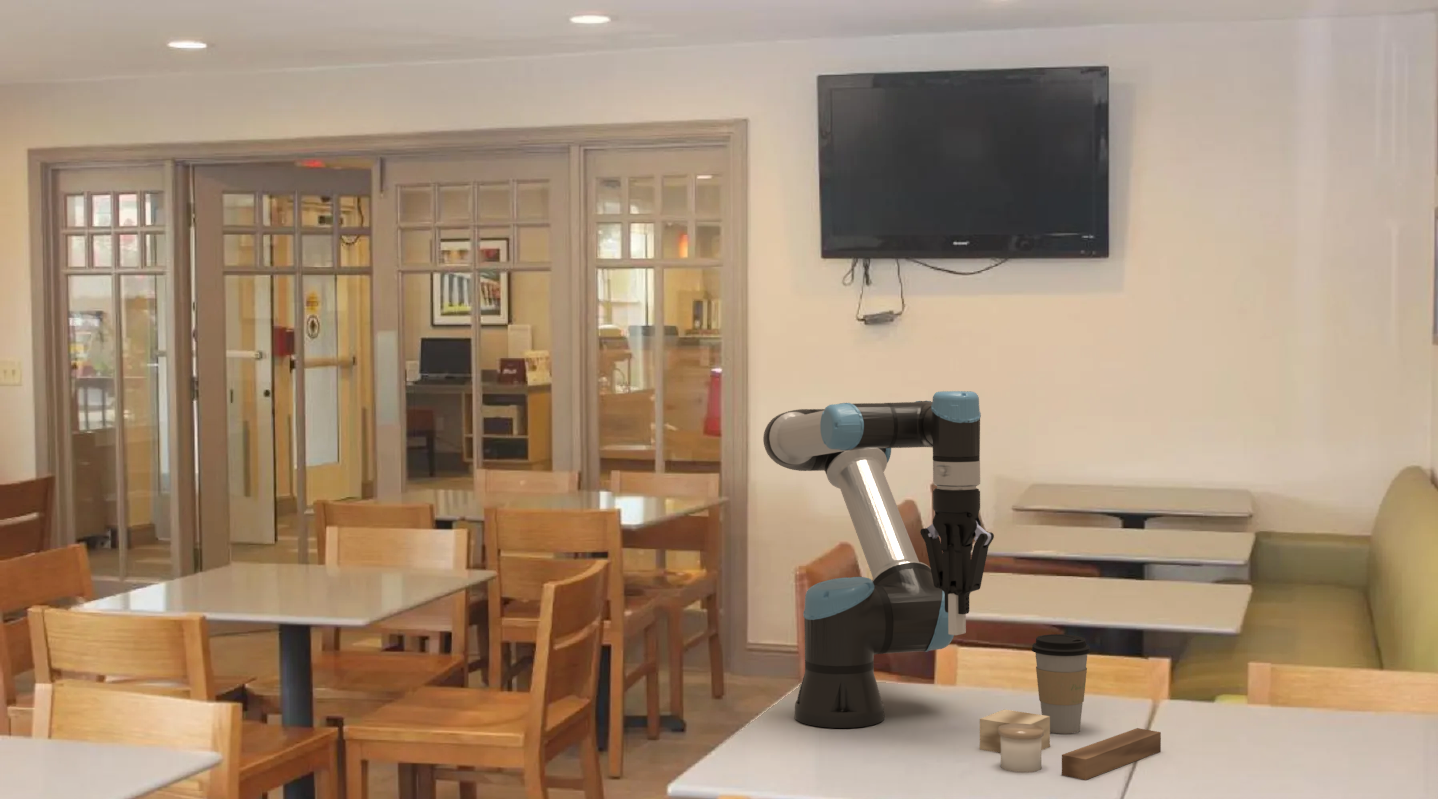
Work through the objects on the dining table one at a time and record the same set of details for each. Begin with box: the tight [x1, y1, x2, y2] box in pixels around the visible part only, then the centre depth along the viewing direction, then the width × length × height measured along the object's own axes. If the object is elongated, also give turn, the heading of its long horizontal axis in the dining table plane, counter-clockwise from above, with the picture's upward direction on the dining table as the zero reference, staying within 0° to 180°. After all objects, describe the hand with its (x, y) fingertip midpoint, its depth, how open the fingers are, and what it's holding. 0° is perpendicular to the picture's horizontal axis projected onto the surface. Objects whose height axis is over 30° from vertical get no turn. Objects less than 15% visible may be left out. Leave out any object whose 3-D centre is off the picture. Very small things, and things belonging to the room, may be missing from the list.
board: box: [1061, 727, 1162, 781], centre depth 243 cm, size 4×22×3 cm, turn 136°
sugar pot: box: [999, 723, 1044, 773], centre depth 242 cm, size 7×7×6 cm
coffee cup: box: [1031, 633, 1091, 735], centre depth 264 cm, size 9×9×15 cm
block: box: [979, 708, 1051, 754], centre depth 253 cm, size 8×8×5 cm
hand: (957, 633), depth 260 cm, fingers closed
